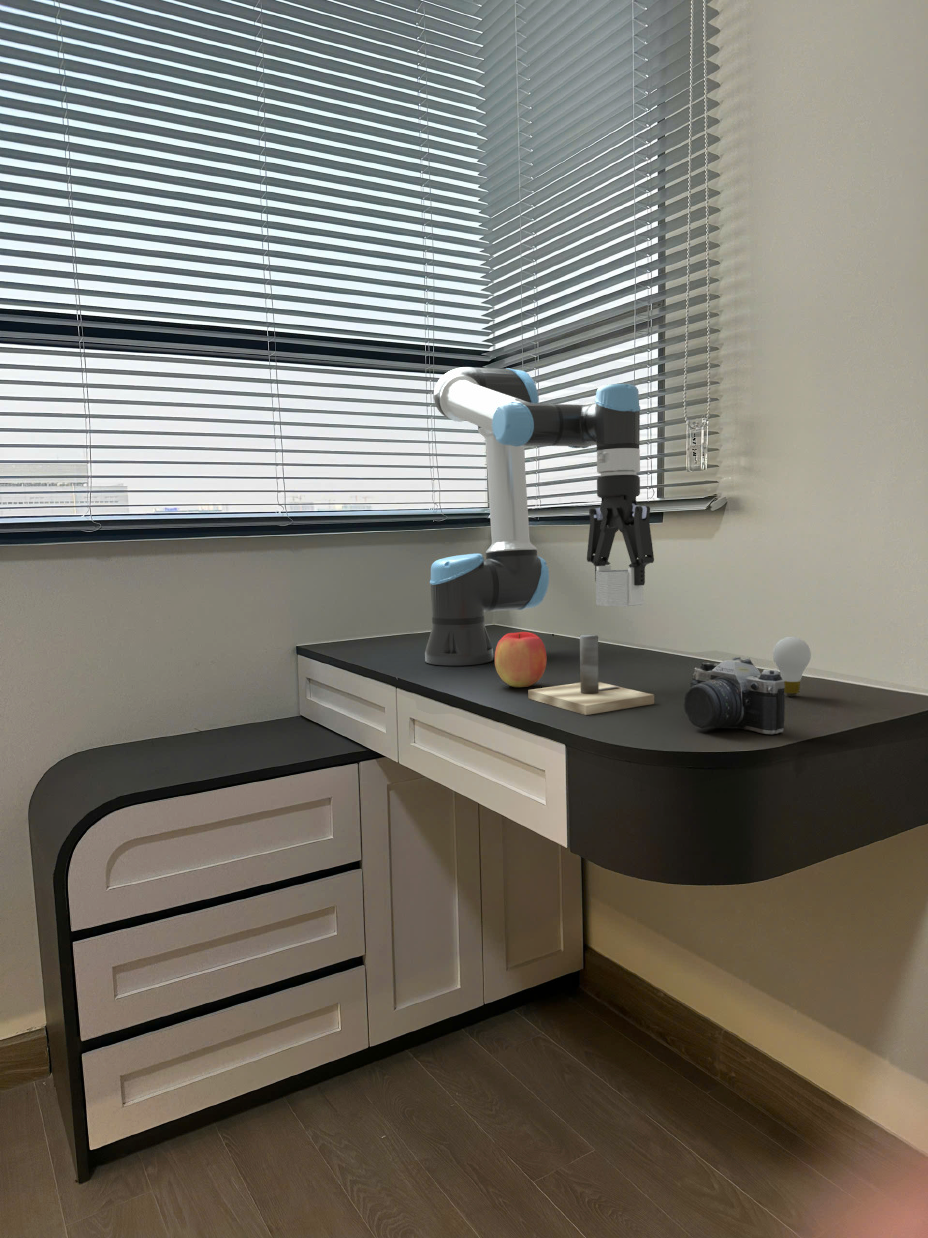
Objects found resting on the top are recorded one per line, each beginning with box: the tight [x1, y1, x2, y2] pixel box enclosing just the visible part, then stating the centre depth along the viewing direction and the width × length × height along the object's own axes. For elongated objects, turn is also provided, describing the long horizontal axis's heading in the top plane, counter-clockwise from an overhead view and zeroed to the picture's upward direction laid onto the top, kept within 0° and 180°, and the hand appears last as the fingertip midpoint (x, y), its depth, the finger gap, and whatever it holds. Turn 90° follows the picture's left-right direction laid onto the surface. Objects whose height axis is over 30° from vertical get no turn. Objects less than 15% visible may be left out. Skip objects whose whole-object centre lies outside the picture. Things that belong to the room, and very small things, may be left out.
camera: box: [683, 656, 786, 735], centre depth 123 cm, size 16×10×10 cm, turn 30°
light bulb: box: [772, 636, 812, 697], centre depth 143 cm, size 6×6×10 cm
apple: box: [494, 631, 548, 688], centre depth 159 cm, size 10×10×10 cm
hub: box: [595, 568, 643, 607], centre depth 155 cm, size 8×8×6 cm
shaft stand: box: [527, 634, 655, 716], centre depth 144 cm, size 16×14×11 cm
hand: (619, 602), depth 155 cm, fingers closed on hub, 8 cm apart
